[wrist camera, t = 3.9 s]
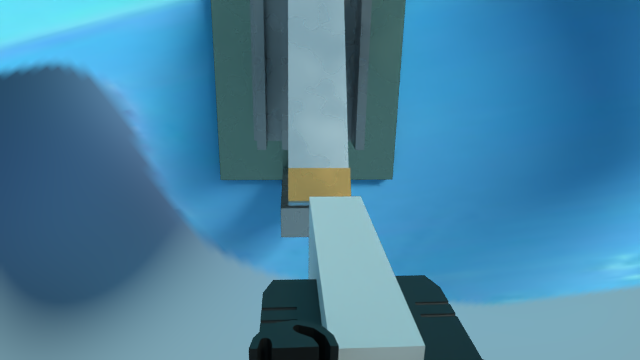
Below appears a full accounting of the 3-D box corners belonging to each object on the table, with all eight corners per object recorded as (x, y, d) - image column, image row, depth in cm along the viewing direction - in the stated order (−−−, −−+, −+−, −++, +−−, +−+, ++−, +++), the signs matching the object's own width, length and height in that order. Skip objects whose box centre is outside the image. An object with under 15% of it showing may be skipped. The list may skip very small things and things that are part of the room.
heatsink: (209, -69, 32) (177, -105, 23) (406, -63, 33) (451, -95, 24) (223, 187, 38) (202, 238, 29) (388, 186, 39) (418, 235, 30)
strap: (284, -63, 26) (284, -86, 25) (343, -61, 26) (346, -84, 25) (284, 205, 23) (284, 200, 22) (350, 205, 23) (355, 200, 22)
